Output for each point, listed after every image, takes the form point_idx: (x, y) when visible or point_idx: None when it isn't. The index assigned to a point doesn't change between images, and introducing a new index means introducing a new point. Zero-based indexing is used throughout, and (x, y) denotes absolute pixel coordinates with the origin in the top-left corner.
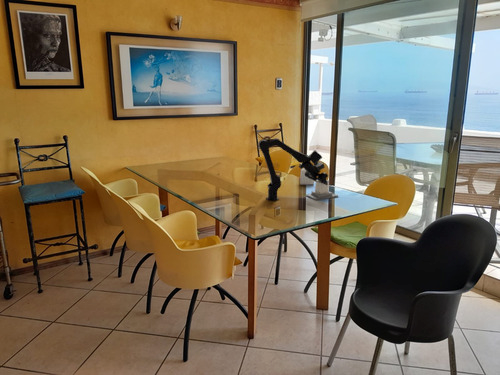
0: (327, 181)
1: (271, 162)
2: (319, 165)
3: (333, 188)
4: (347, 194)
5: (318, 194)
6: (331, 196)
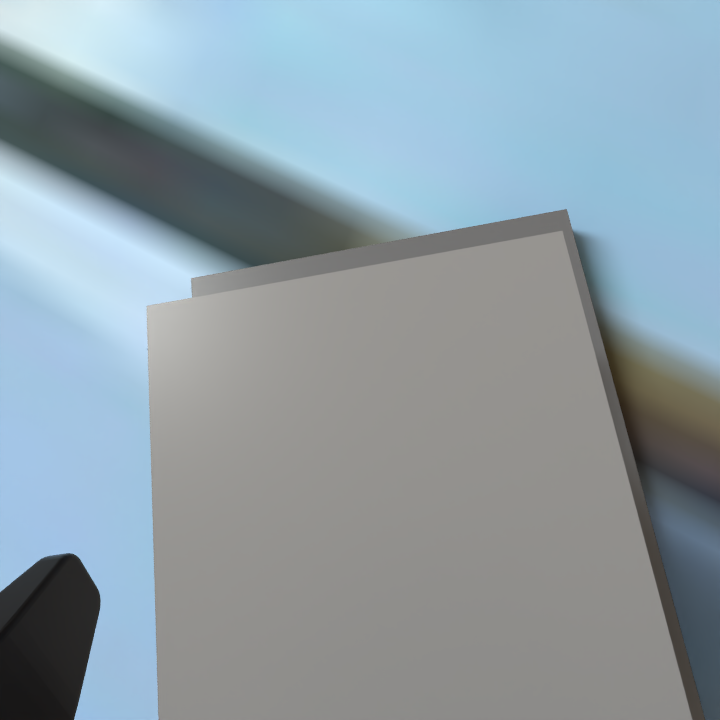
0: (579, 348)
1: None
2: None
3: (6, 63)
4: (429, 5)
5: None
6: (606, 381)
